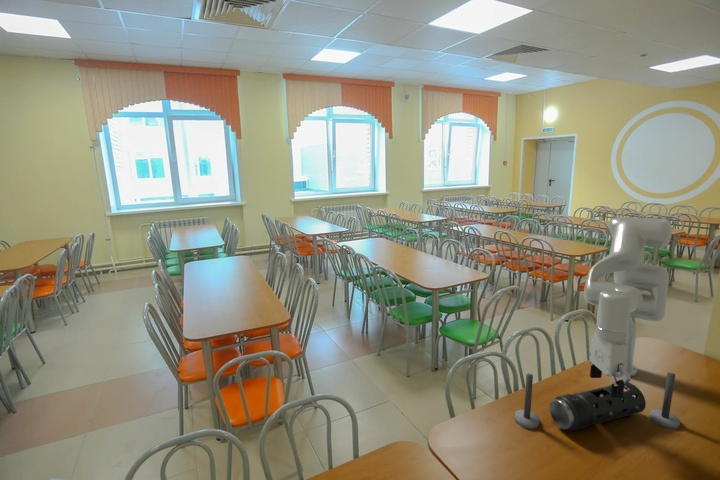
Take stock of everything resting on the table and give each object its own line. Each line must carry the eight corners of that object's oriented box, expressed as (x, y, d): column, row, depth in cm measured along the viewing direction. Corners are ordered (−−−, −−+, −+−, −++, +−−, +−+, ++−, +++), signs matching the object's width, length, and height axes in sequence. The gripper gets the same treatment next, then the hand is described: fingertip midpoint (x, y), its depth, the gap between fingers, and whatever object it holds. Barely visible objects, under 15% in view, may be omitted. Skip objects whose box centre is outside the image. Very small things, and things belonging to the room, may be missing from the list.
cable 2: (644, 413, 114) (650, 367, 111) (667, 413, 114) (673, 367, 111) (661, 428, 108) (668, 380, 104) (685, 428, 107) (693, 380, 104)
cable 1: (511, 413, 116) (513, 368, 113) (533, 413, 116) (536, 368, 113) (519, 429, 109) (522, 381, 106) (543, 429, 109) (546, 381, 106)
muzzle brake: (644, 422, 111) (648, 392, 109) (570, 442, 104) (573, 410, 102) (615, 403, 120) (619, 375, 118) (546, 420, 113) (548, 391, 111)
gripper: (580, 321, 112) (576, 370, 115) (618, 348, 95) (611, 405, 98) (605, 320, 111) (600, 370, 114) (647, 347, 94) (639, 405, 97)
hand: (605, 386), depth 106 cm, fingers open, 9 cm apart
